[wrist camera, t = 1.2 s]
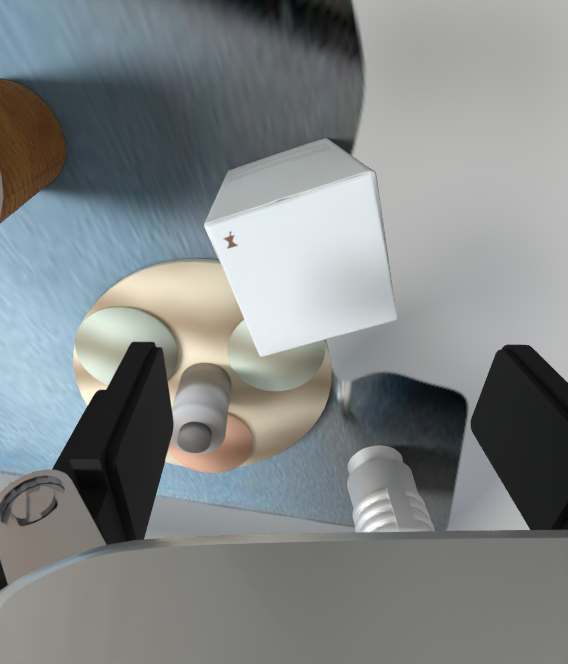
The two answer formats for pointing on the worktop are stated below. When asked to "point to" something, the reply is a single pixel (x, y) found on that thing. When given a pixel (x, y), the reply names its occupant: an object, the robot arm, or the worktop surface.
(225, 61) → the worktop surface
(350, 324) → the supplement box
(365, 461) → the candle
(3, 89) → the disposable coffee cup
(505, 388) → the robot arm
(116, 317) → the carrier
